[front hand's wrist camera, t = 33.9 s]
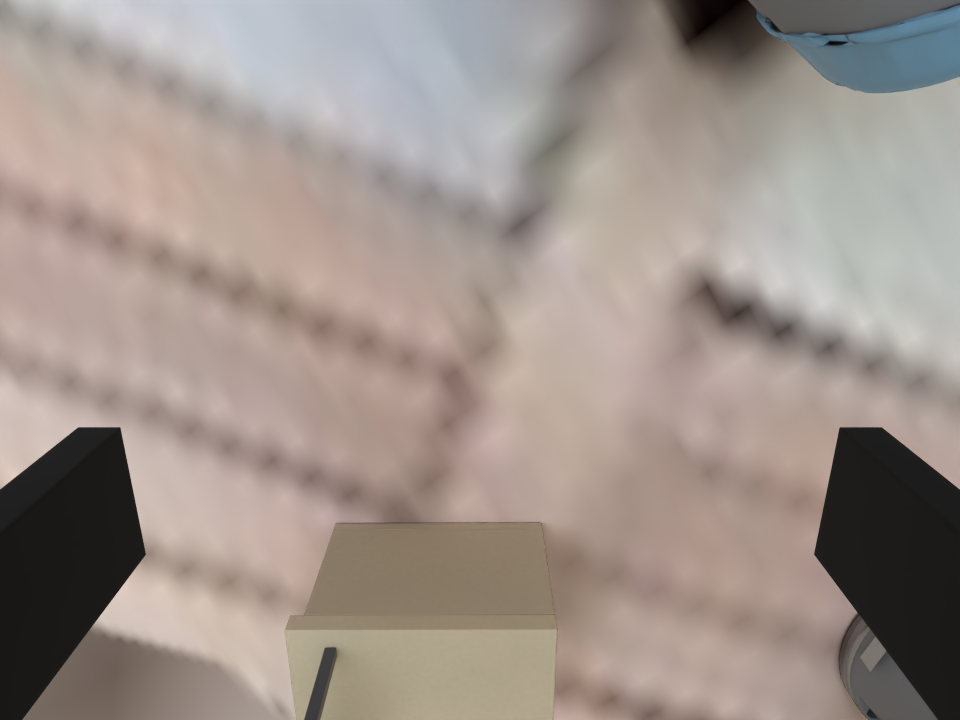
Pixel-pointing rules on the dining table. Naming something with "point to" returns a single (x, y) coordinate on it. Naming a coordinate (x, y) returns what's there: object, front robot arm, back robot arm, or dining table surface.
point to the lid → (422, 667)
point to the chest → (433, 570)
